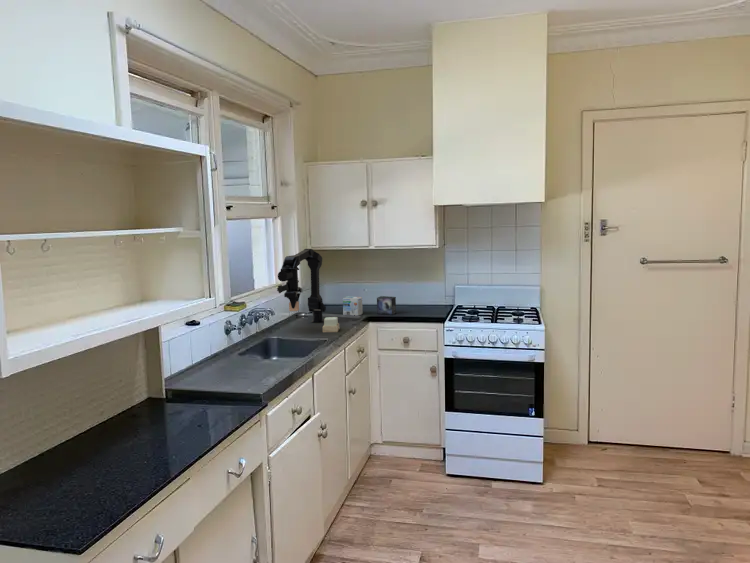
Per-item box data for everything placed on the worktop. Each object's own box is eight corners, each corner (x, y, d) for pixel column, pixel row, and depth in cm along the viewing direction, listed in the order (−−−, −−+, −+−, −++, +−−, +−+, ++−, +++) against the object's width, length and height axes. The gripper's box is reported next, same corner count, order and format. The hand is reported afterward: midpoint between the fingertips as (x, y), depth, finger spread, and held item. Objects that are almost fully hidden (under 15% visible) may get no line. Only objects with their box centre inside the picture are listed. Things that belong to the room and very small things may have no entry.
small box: (376, 314, 349) (376, 297, 348) (381, 312, 355) (380, 295, 353) (391, 315, 344) (391, 298, 343) (396, 313, 350) (396, 296, 348)
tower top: (326, 323, 310) (325, 317, 309) (337, 323, 309) (337, 317, 309) (324, 326, 303) (324, 319, 303) (336, 325, 303) (336, 319, 302)
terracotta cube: (290, 309, 309) (290, 301, 309) (299, 309, 309) (298, 301, 308) (289, 311, 305) (288, 303, 304) (297, 311, 305) (297, 302, 304)
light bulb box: (342, 315, 349) (342, 298, 348) (347, 313, 356) (346, 296, 354) (358, 315, 345) (358, 298, 344) (362, 313, 352) (362, 296, 350)
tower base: (325, 329, 311) (324, 323, 310) (339, 329, 310) (339, 323, 310) (322, 332, 303) (322, 326, 302) (337, 332, 302) (337, 326, 302)
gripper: (281, 277, 314) (283, 304, 316) (274, 281, 296) (275, 311, 298) (301, 276, 314) (302, 304, 316) (294, 281, 295) (296, 310, 297)
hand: (294, 307), depth 307 cm, fingers closed on terracotta cube, 4 cm apart
